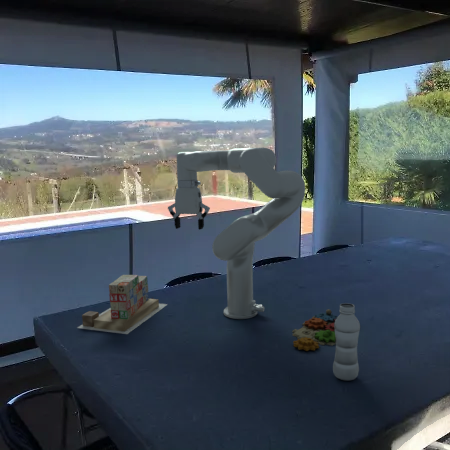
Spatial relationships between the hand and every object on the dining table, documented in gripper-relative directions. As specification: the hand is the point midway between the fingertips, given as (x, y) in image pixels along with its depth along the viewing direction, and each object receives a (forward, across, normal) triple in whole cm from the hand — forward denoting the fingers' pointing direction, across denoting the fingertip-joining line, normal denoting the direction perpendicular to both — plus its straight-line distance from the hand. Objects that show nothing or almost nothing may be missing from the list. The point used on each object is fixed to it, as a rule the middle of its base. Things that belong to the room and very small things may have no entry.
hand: (189, 228), depth 177 cm
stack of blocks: (+27, +15, +21) cm, 37 cm away
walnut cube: (+30, +25, +32) cm, 50 cm away
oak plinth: (+30, +16, +22) cm, 40 cm away
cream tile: (+30, +18, +21) cm, 41 cm away
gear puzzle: (+31, -52, +17) cm, 63 cm away
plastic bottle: (+31, -63, +44) cm, 83 cm away
